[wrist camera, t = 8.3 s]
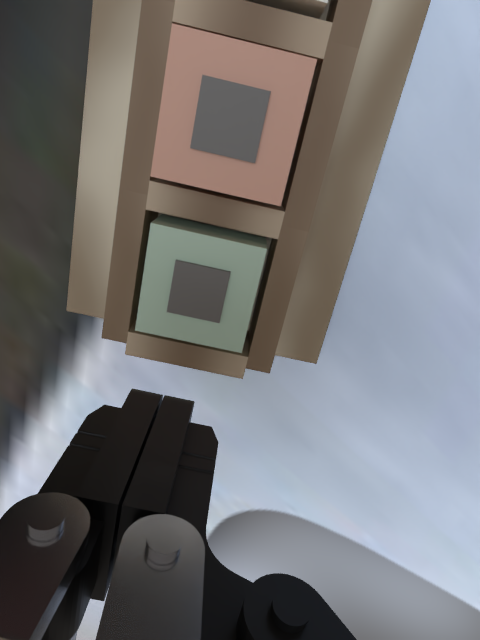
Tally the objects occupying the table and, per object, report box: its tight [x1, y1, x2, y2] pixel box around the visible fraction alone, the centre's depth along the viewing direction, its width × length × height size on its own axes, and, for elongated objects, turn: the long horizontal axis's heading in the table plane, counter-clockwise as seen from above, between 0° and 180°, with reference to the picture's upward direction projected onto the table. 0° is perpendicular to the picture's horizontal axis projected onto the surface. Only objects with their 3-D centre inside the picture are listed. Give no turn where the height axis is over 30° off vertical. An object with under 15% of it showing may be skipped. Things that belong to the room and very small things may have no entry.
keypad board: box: [67, 0, 431, 379], centre depth 20 cm, size 14×22×4 cm, turn 168°
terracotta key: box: [150, 23, 317, 206], centre depth 17 cm, size 5×5×3 cm
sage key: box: [135, 214, 267, 353], centre depth 21 cm, size 5×5×3 cm
